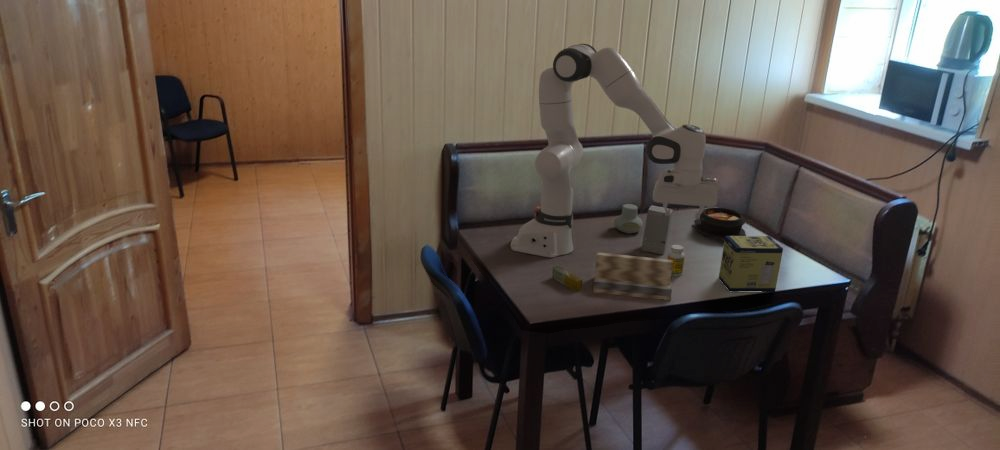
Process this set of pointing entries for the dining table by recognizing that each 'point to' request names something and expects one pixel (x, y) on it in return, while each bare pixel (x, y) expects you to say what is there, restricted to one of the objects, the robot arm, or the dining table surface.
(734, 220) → the casserole
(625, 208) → the air freshener
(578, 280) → the medication box
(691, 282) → the dining table surface
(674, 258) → the supplement bottle
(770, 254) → the protein box
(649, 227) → the skincare box
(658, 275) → the cleat board
